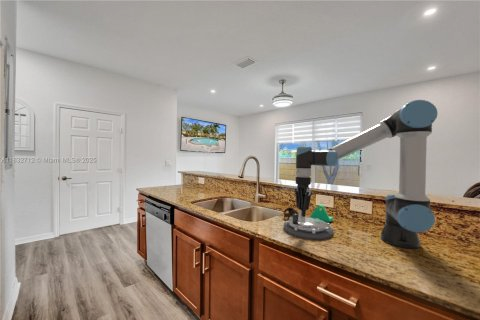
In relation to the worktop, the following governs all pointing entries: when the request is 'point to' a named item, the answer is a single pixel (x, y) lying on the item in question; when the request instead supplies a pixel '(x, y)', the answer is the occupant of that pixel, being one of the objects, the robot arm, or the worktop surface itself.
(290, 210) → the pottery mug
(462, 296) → the worktop surface
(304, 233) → the base
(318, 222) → the index wheel
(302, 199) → the robot arm
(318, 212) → the camera mount
